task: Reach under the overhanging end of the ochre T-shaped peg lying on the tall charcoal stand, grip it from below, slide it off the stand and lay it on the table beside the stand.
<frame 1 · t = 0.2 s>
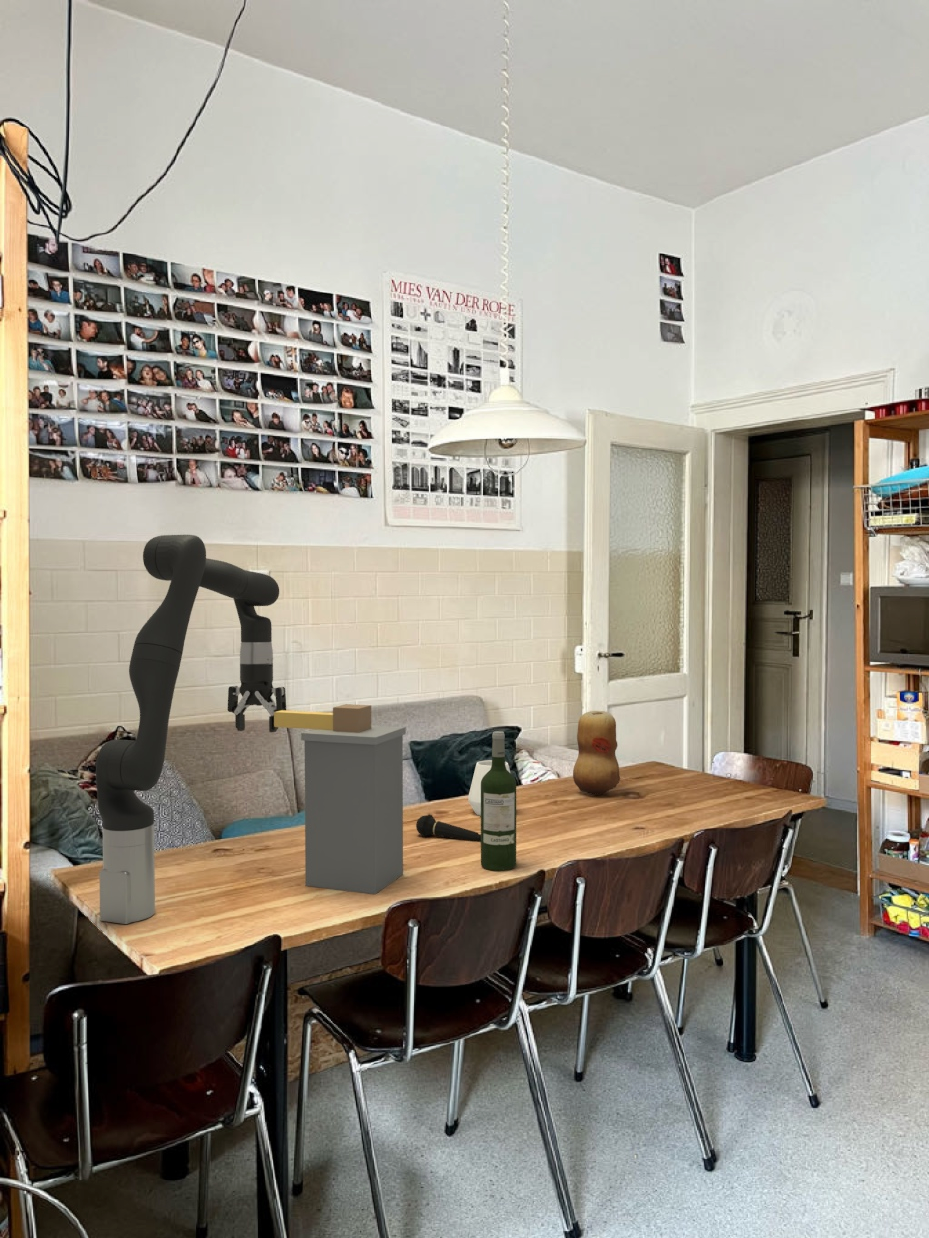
hand: (257, 731, 220), 29 cm above the table, tool pointing down, fingers open, 8 cm apart
peg: (339, 729, 201), point 32 cm above the table, touching stand
microphone: (451, 840, 234), on the table
butternut squash: (596, 795, 284), on the table
cup: (492, 813, 261), on the table
wine bottle: (498, 866, 211), on the table
stand: (355, 880, 201), on the table
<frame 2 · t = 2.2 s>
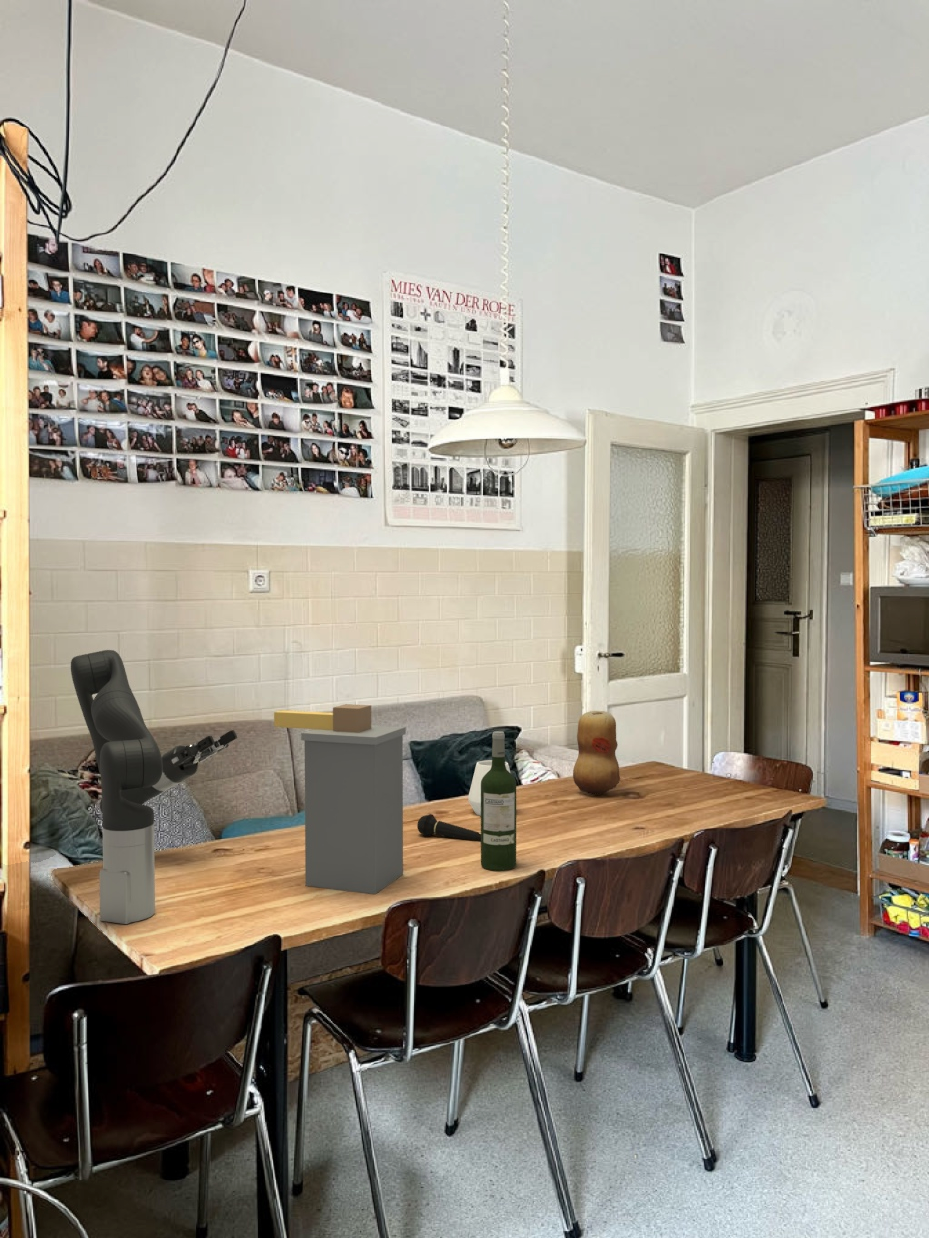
hand: (223, 736, 211), 29 cm above the table, tool pointing upward, fingers open, 8 cm apart
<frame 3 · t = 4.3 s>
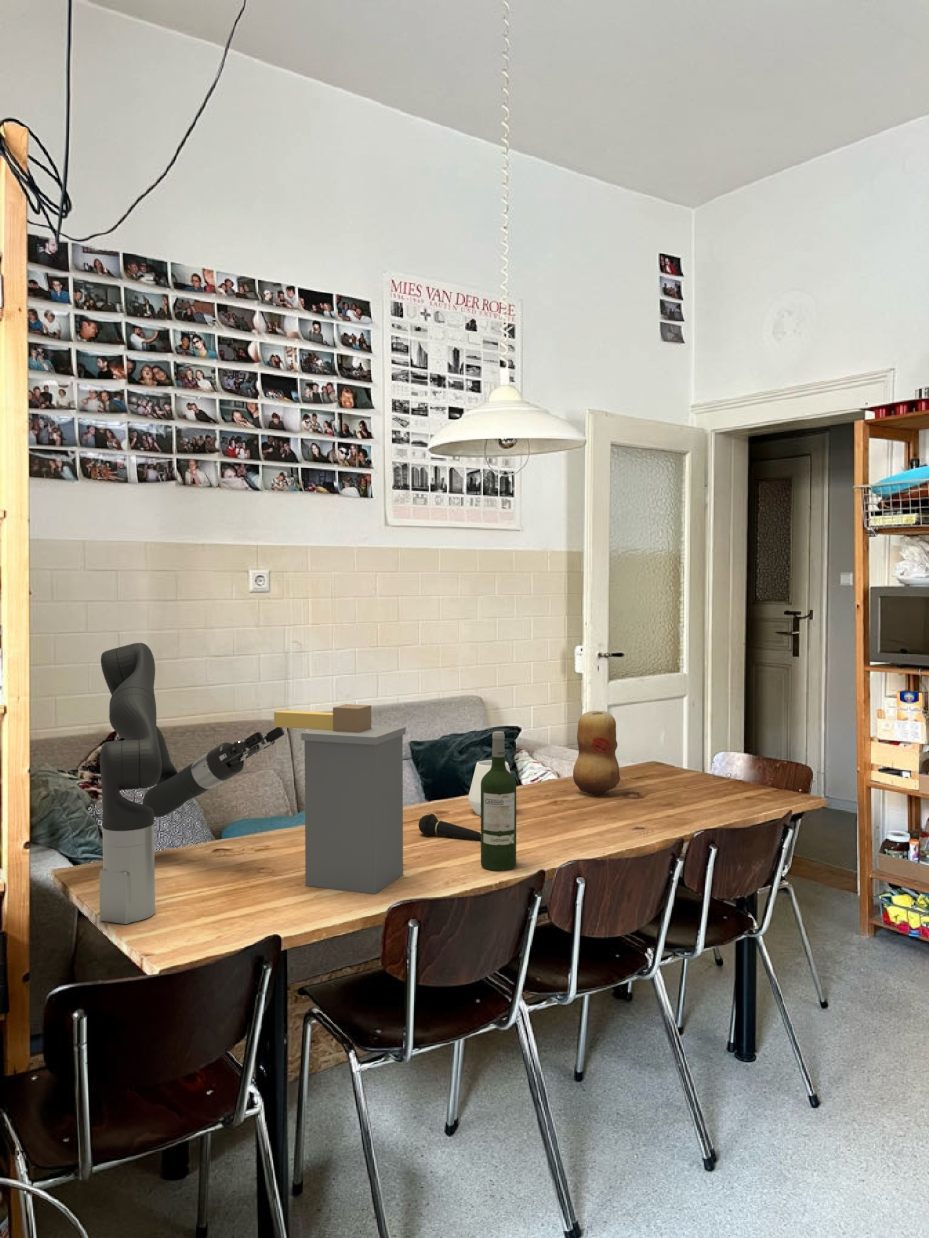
hand: (271, 732, 207), 30 cm above the table, tool pointing upward, fingers open, 8 cm apart
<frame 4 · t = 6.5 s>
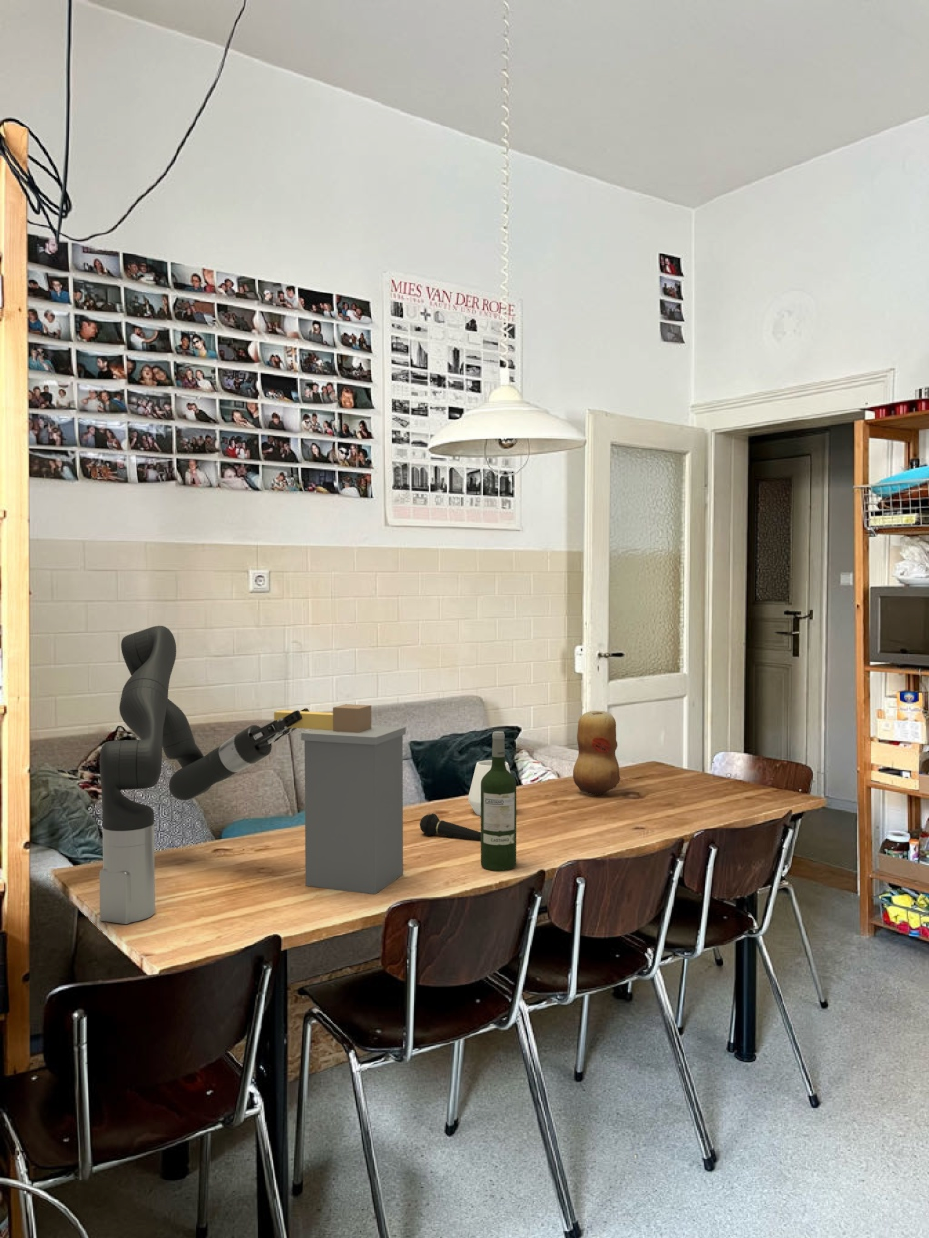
hand: (304, 713, 204), 35 cm above the table, tool pointing upward, fingers closed on peg, 3 cm apart
peg: (339, 729, 201), point 32 cm above the table, touching gripper, stand
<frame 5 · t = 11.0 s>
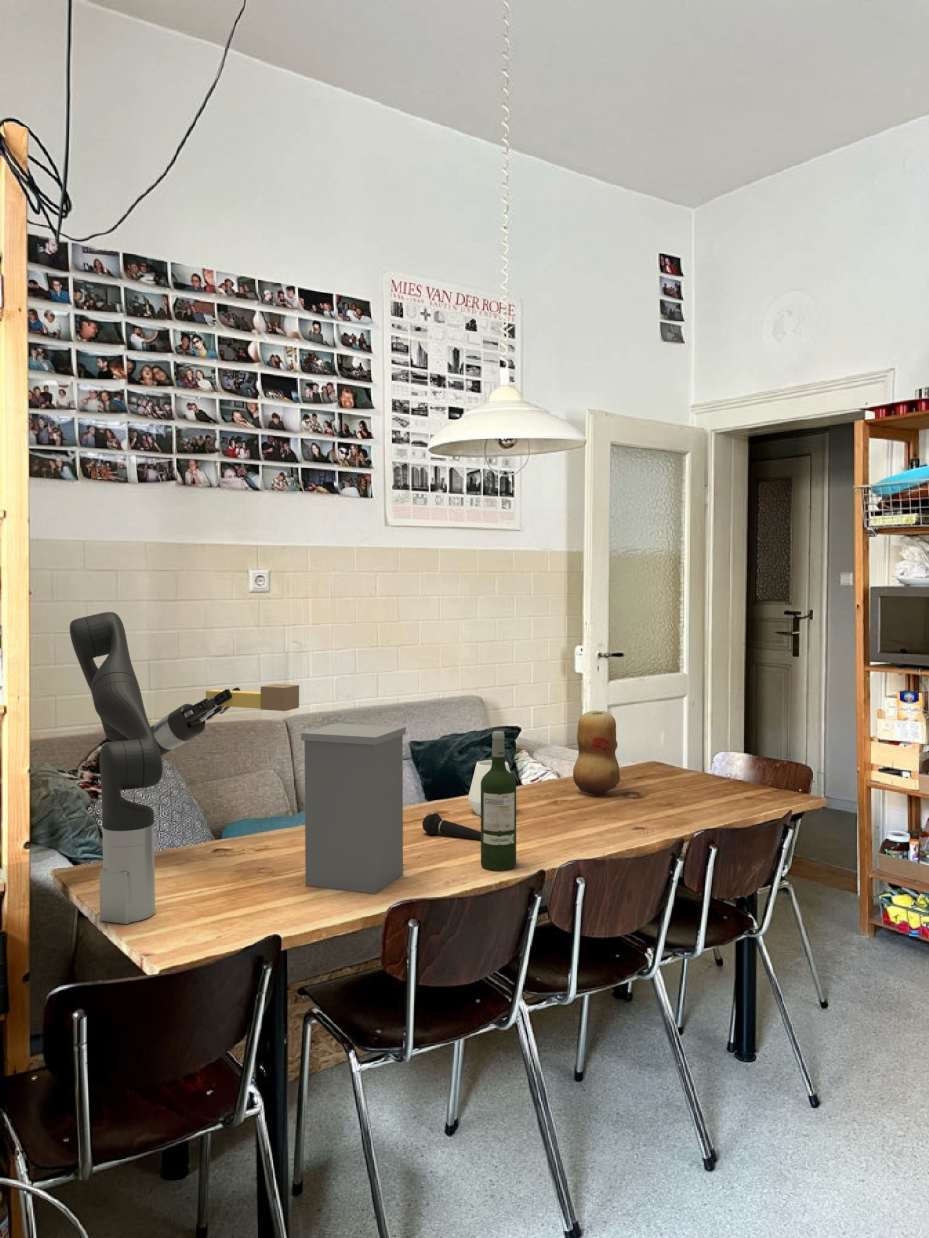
hand: (234, 692, 210), 39 cm above the table, tool pointing upward, fingers closed on peg, 3 cm apart
peg: (268, 707, 207), point 36 cm above the table, touching gripper
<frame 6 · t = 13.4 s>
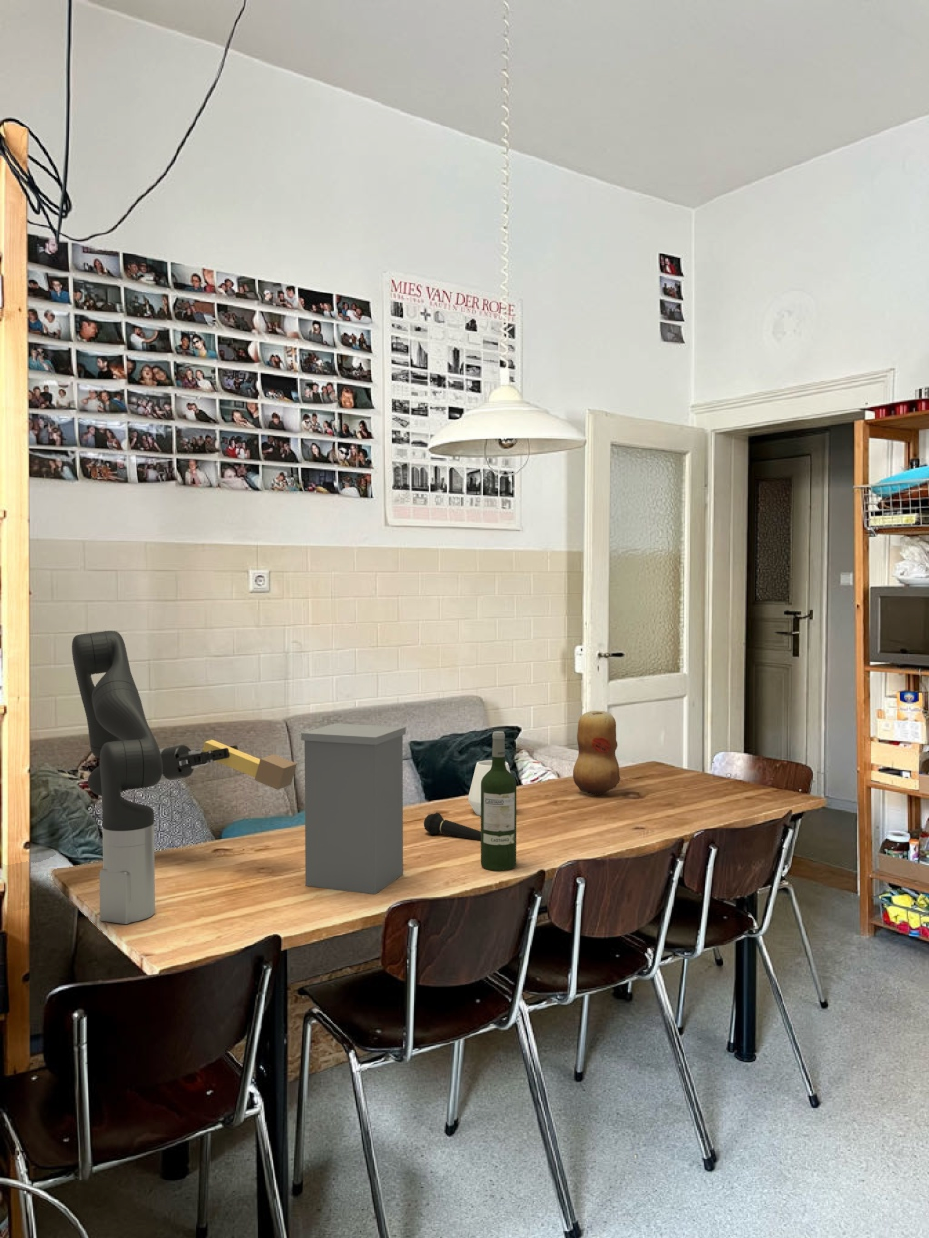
hand: (232, 751, 212), 25 cm above the table, tool horizontal, fingers closed on peg, 3 cm apart
peg: (261, 777, 210), point 20 cm above the table, tilted 17°, touching gripper
when the fingers open (12 cm above the table, at t = 15.6 s): peg drops 5 cm, on the table.
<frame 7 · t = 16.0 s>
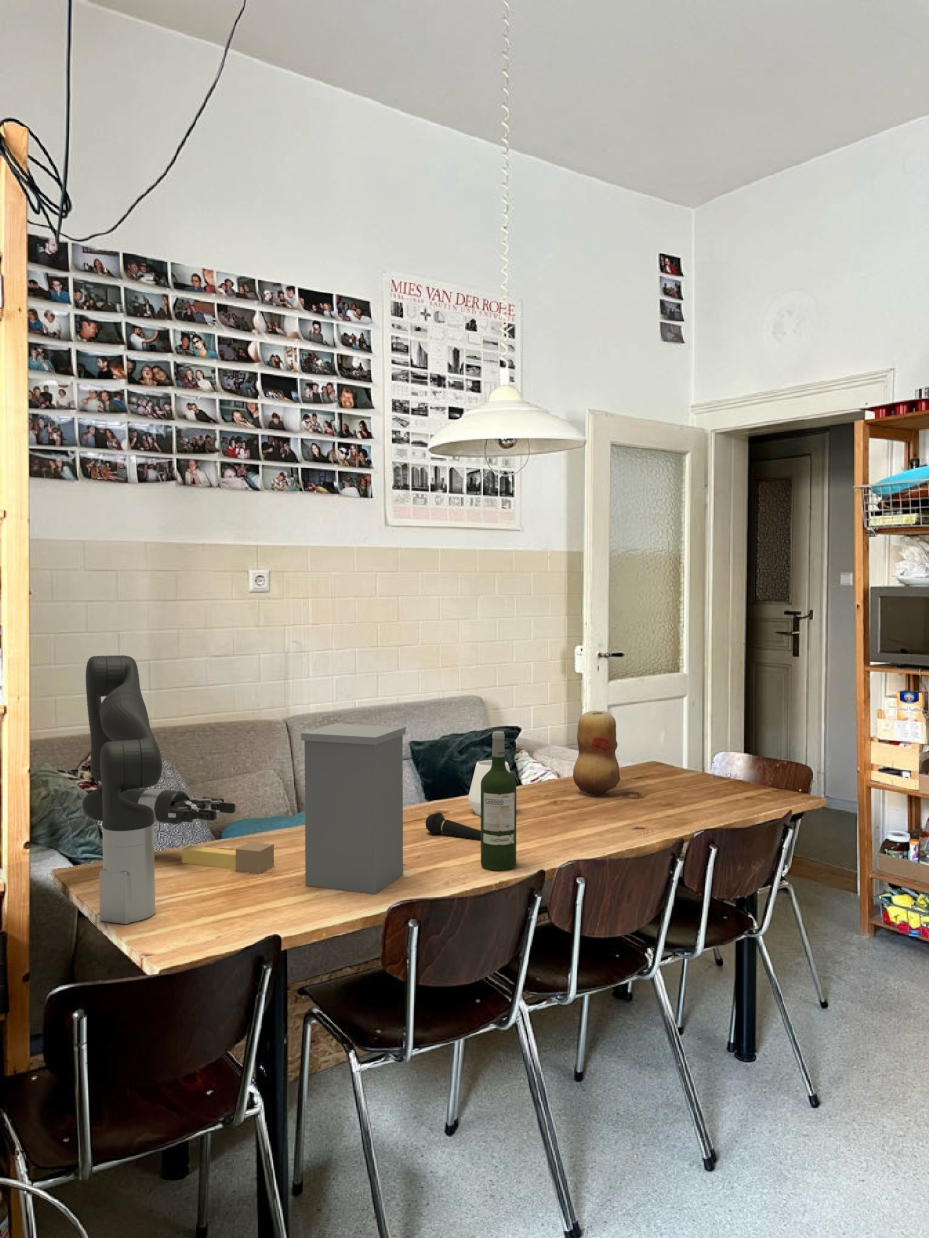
hand: (225, 811, 212), 12 cm above the table, tool horizontal, fingers open, 6 cm apart
peg: (243, 867, 210), on the table
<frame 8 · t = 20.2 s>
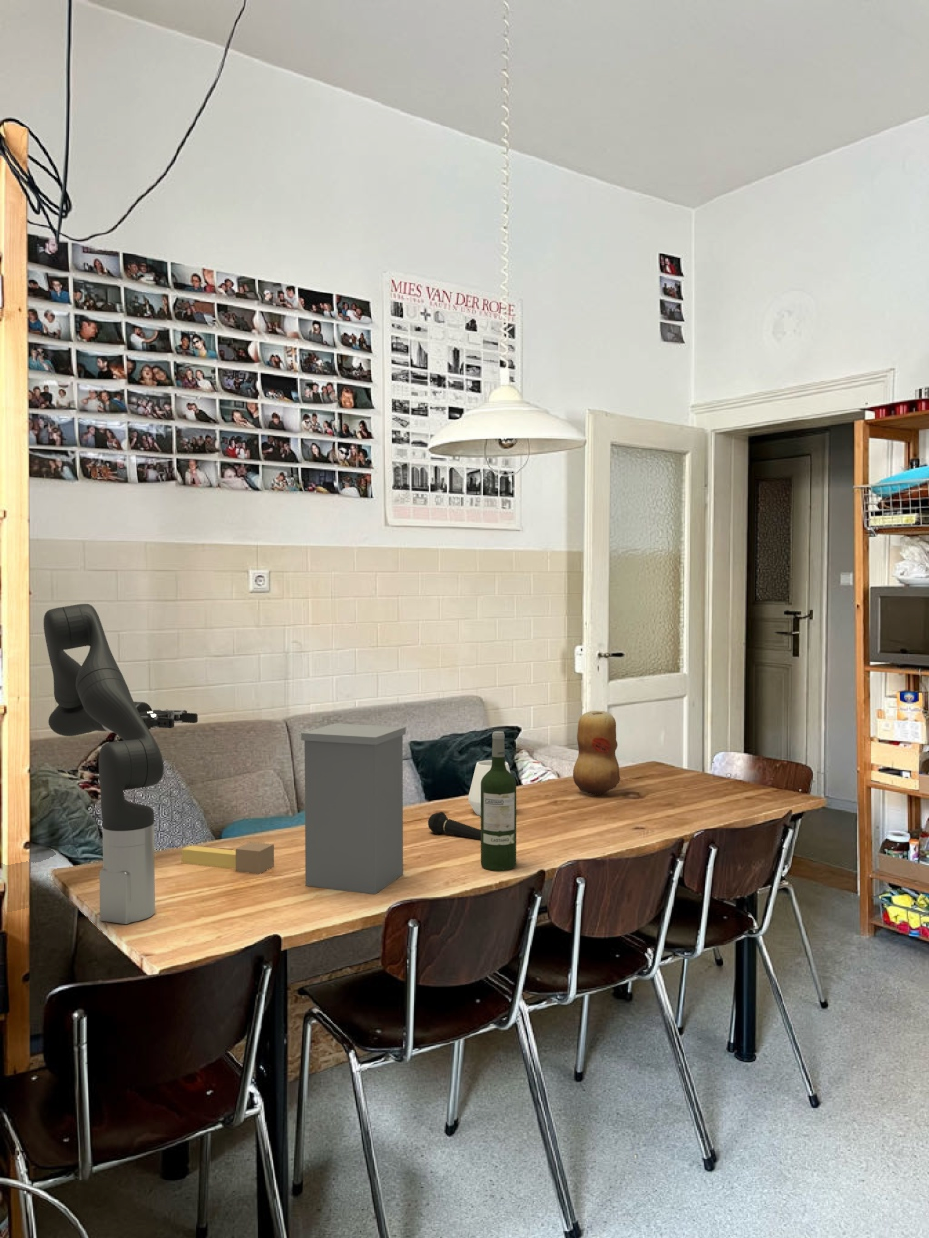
hand: (185, 720, 214), 32 cm above the table, tool horizontal, fingers open, 8 cm apart
at the end: peg touching table; the gripper is holding nothing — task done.
